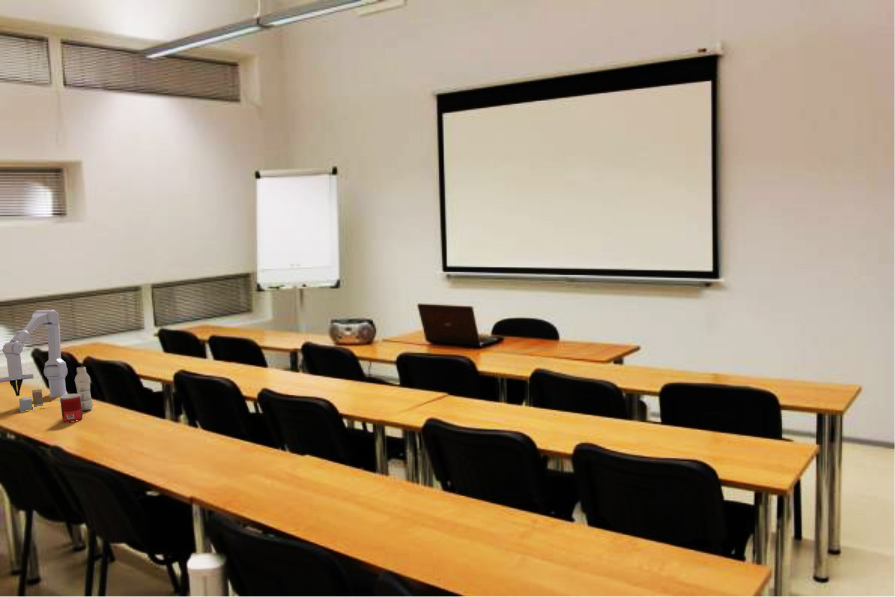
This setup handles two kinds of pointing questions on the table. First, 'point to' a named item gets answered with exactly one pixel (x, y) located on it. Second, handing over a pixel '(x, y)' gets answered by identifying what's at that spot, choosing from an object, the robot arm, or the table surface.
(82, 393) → the plastic bottle
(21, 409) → the gray block
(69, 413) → the canned food
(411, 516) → the table surface
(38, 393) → the walnut block
